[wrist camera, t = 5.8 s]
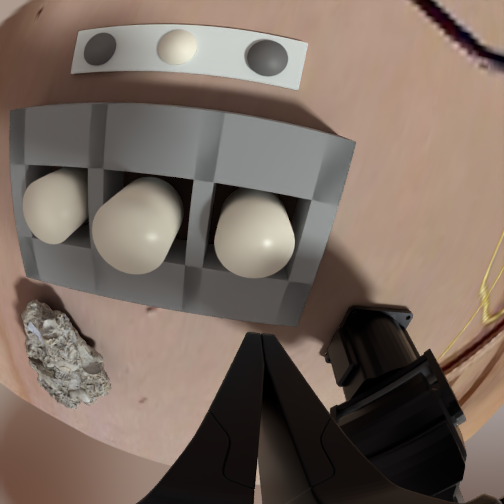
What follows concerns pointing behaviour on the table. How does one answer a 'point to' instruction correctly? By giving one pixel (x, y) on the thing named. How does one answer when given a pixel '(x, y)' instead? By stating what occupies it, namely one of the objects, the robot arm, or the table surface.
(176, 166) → the button board
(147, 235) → the button middle
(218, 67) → the card
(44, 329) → the mineral specimen
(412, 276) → the table surface
